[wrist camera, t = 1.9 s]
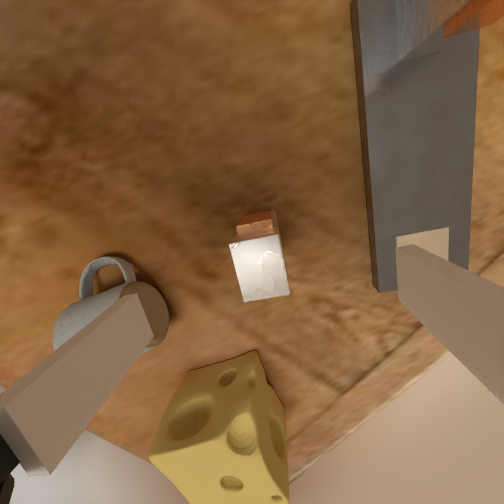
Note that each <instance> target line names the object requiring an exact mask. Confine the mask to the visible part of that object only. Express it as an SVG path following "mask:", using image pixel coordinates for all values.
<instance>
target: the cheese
mask: <svg viewBox="0 0 504 504" xmlns="http://www.w3.org/2000/svg"><path fill="white" fill-rule="evenodd" d="M149 459H150V461H151V462H152V463H153V464H154V465H155V466H156V467H157V468H158V469H159V470H160V471H161V472H162V473H163V474H164V475H166V476H167V477H168V478H169V479H170V480H171V481H172V483H173V484H174V485H175V486H176V487H177V488H178V489H179V491H180V492H181V493H182V494H183V495H184V497H185V498H186V499H187V501H188V502H189V503H190V504H288V503H289V477H288V462H287V444H286V427H285V417H284V408H283V406H282V404H281V402H280V400H279V398H278V396H277V394H276V393H275V391H274V389H273V388H272V387H271V386H270V385H268V384H267V381H266V376H265V371H264V368H263V366H262V364H261V361H260V359H259V356H258V354H257V352H256V351H251V352H248V353H246V354H243V355H241V356H239V357H236V358H233V359H230V360H227V361H223V362H220V363H217V364H213V365H210V366H206V367H203V368H199V369H195V370H192V371H189V372H188V373H187V375H186V377H185V378H184V380H183V381H182V383H181V384H180V386H179V388H178V389H177V391H176V393H175V394H174V396H173V398H172V400H171V401H170V403H169V405H168V407H167V409H166V411H165V413H164V415H163V417H162V420H161V422H160V424H159V427H158V430H157V432H156V435H155V438H154V441H153V444H152V447H151V451H150V454H149Z"/></svg>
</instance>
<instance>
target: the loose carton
mask: <svg viewBox="0 0 504 504" xmlns="http://www.w3.org/2000/svg"><path fill="white" fill-rule="evenodd" d="M236 229H237V231H236V233H235V235H234V236H233V238H232V240H231V241H230V243H229V247H230V250H231V254H232V258H233V262H234V266H235V269H236V273H237V277H238V281H239V284H240V288H241V292H242V296H243V300H244V302H248V301H254V300H260V299H266V298H272V297H278V296H284V295H290V291H289V285H288V278H287V272H286V266H285V259H284V253H283V247H282V242H281V237H280V232H279V226H278V221H277V216H276V211H275V210H270V211H265V212H260V213H256V214H251V215H246V216H242V218H241V220H240V221H239V223H238V224H237V226H236Z"/></svg>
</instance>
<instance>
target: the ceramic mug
mask: <svg viewBox="0 0 504 504" xmlns="http://www.w3.org/2000/svg"><path fill="white" fill-rule="evenodd" d="M115 263H116V264H117V265H118V266H119V267H120V268H121V271H122V273H123V275H124V279H125V283H124V284H122V285H119V286H116V287H114V288H112V289H109V290H107V291H104V292H102V293H99V294H96V295H93V280H94V276H95V273H96V271H97V270H98V269H99V268H100V267H102V266H105V265H108V264H111V265H113V264H115ZM135 293H137V295H138V297H139V300H140V302H141V305H142V307H143V310H144V312H145V315H146V317H147V320H148V322H149V325H150V327H151V330H152V332H153V335H154V337H153V338H152V339H151V341H150V342H149V343H148V345H147V346H146V347H145V349H144V350H143V352H142V353H141V354H143V353H145V352H147V351H149V350H151V349H152V348H154V347H155V346H157V345H158V344H160V343H161V342H162V340H163V339H164V338H165V336H166V334H167V331H168V327H169V313H168V308H167V305H166V303H165V301H164V299H163V297H162V296H161V294H160V293H159V292H158V291H157V290H156V289H155V288H154V287H153V286H151V285H150V284H148V283H145V282H141V281H136V276H135V273H134V271H133V269H132V267H131V266H130V264H129V263H128V262H127V261H126V260H124V259H122V258H119V257H110V256H104V257H100V258H97V259H94V260H93V261H91V262H90V263H89V264H88V265H87V266H86V267H85V269H84V270H83V273H82V275H81V279H80V285H79V294H80V300H79V301H78V302H76V303H73V304H71V305H69V306H68V307H67V308H66V309H65V310H63V311H62V312H61V314H60V315H59V317H58V319H57V321H56V322H55V325H54V329H53V336H52V339H53V348H54V351H55V350H56V349H58V348H59V347H60V346H61V345H63V344H64V343H65V342H66V341H68V340H69V339H70V338H71V337H73V336H74V335H75V334H76V333H78V332H79V331H80V330H81V329H83V328H84V327H85V326H87V325H88V324H89V323H90V322H92V321H93V320H94V319H95V318H97V317H98V316H99V315H100V314H102V313H103V312H104V311H105V310H107V309H108V308H109V307H110V306H112V305H113V304H114V303H115V302H117V301H118V300H119V299H120V298H122V297H123V296H124V295H130V294H135ZM141 354H140V355H141Z"/></svg>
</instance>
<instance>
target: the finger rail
mask: <svg viewBox="0 0 504 504" xmlns="http://www.w3.org/2000/svg"><path fill="white" fill-rule="evenodd" d="M350 11H351V23H352V35H353V47H354V60H355V72H356V84H357V96H358V108H359V121H360V133H361V145H362V157H363V169H364V181H365V194H366V206H367V218H368V230H369V242H370V255H371V267H372V279H373V286H374V287H375V289H376V290H377V291H378V292H379V293H380V292H387V291H393V290H398V285H397V267H396V249H395V247H400V246H406V245H412V244H414V245H416V246H418V247H420V248H422V249H424V250H426V251H428V252H431V253H433V254H435V255H437V256H439V257H441V258H443V259H445V260H447V261H449V262H451V263H453V264H455V265H458V266H460V267H462V268H464V269H466V270H468V263H469V241H470V220H471V199H472V178H473V156H474V135H475V114H476V92H477V71H478V50H479V29H480V28H482V27H486V26H489V25H491V24H493V23H494V22H496V21H497V20H498V19H500V18H501V17H503V16H504V0H352V2H351V4H350Z"/></svg>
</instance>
